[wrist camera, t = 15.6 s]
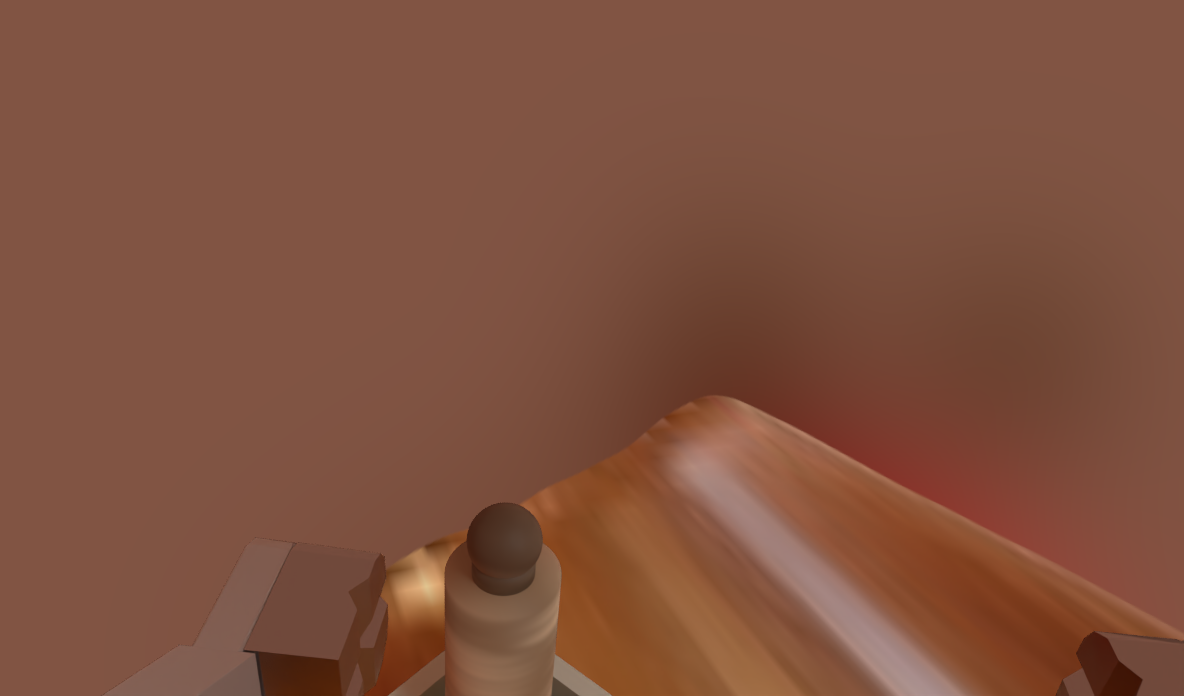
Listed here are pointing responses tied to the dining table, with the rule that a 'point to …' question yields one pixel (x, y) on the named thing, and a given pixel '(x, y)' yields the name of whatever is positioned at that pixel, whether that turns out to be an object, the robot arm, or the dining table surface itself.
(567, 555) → the dining table surface
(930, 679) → the dining table surface
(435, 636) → the dining table surface
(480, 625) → the pepper mill
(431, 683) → the box
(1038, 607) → the dining table surface
